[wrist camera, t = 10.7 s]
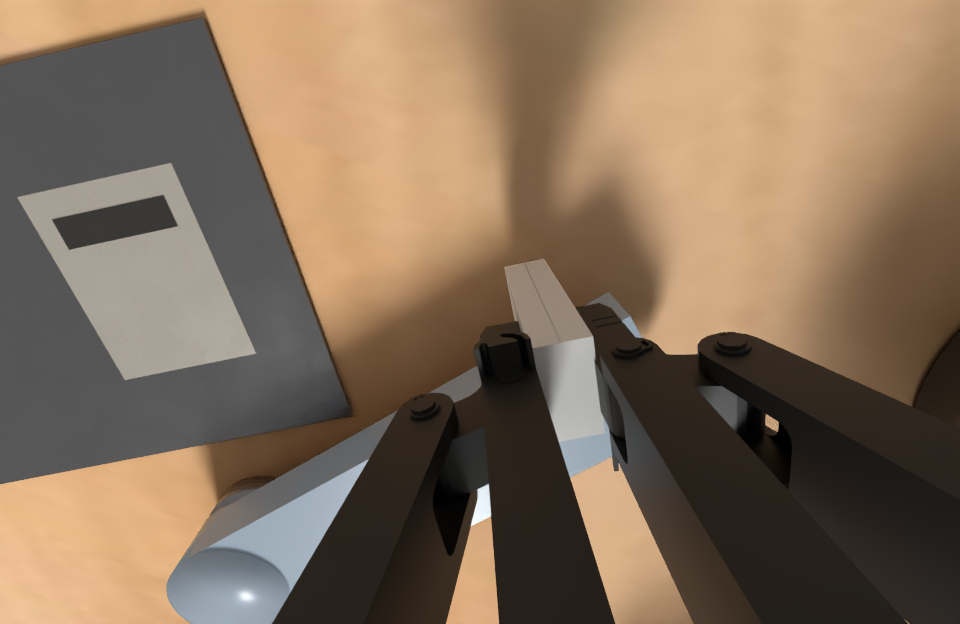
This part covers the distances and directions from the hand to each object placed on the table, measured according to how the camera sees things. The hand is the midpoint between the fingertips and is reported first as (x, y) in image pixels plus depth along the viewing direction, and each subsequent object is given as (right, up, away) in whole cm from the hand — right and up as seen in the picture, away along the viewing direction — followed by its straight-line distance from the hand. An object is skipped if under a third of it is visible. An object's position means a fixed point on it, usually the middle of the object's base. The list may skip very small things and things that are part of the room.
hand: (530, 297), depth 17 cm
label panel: (-21, 0, +2) cm, 21 cm away
